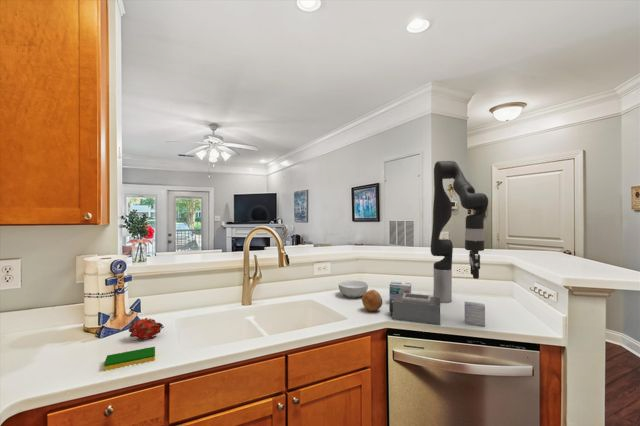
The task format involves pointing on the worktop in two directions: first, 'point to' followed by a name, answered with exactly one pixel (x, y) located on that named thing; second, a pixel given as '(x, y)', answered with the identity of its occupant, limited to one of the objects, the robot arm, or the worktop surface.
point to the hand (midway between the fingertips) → (474, 276)
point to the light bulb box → (399, 289)
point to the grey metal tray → (416, 308)
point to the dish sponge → (129, 358)
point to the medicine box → (475, 313)
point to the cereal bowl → (353, 288)
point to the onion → (372, 300)
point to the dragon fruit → (145, 328)
